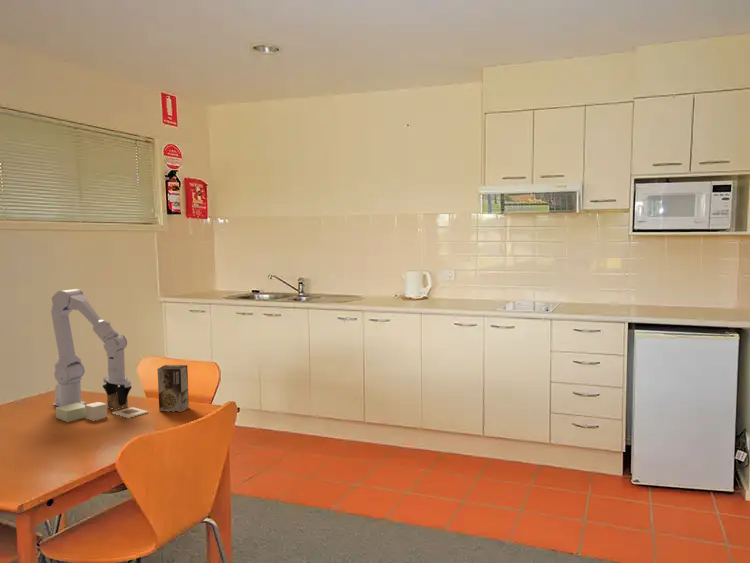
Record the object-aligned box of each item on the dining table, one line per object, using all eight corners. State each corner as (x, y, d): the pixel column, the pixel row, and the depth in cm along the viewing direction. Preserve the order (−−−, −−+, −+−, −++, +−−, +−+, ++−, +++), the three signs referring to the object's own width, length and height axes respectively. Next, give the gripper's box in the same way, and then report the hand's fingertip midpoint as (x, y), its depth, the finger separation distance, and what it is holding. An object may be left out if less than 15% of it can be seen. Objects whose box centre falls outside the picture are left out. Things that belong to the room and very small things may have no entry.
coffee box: (189, 407, 222) (188, 364, 221) (182, 412, 216) (181, 368, 214) (166, 406, 223) (164, 364, 222) (158, 411, 216) (156, 368, 215)
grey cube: (85, 418, 208) (85, 404, 208) (99, 415, 212) (98, 401, 212) (93, 421, 205) (93, 407, 205) (107, 417, 210) (106, 403, 209)
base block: (56, 418, 209) (55, 407, 209) (78, 413, 216) (78, 402, 215) (67, 422, 205) (66, 411, 204) (89, 417, 211) (89, 406, 211)
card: (112, 413, 214) (112, 411, 214) (132, 408, 220) (131, 406, 220) (128, 418, 208) (128, 416, 208) (148, 412, 215) (148, 411, 215)
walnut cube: (107, 408, 222) (107, 395, 221) (119, 405, 226) (119, 392, 225) (115, 410, 219) (115, 397, 218) (127, 407, 223) (127, 394, 222)
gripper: (137, 368, 220) (138, 404, 221) (115, 363, 228) (116, 398, 229) (120, 371, 215) (121, 408, 215) (97, 367, 223) (98, 402, 224)
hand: (117, 403), depth 222 cm, fingers open, 6 cm apart
